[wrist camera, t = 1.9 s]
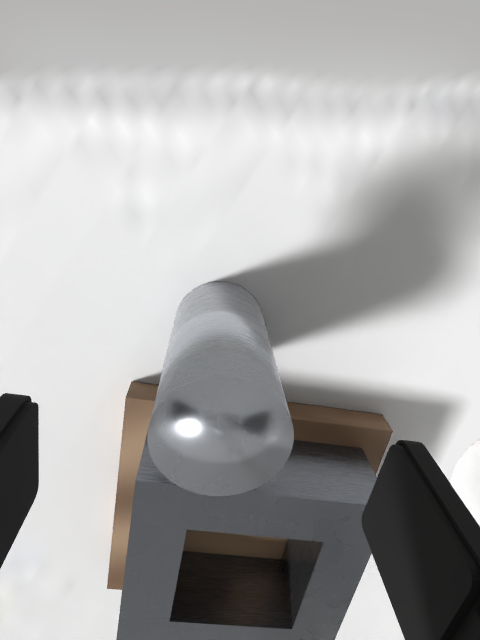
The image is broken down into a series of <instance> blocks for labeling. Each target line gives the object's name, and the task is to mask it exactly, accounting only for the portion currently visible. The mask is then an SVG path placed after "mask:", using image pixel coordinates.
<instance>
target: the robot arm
mask: <svg viewBox="0 0 480 640" xmlns="http://www.w3.org/2000/svg"><path fill="white" fill-rule="evenodd" d="M38 484H39V462H38V404H37V403H33V402H31V398H30V396H25V395H17V394H8V393H5V394H3V395H2V396H1V397H0V568H1V566H2V564H3V562H4V560H5V558H6V556H7V554H8V552H9V550H10V548H11V546H12V544H13V542H14V540H15V538H16V536H17V534H18V532H19V530H20V528H21V526H22V524H23V522H24V520H25V518H26V516H27V514H28V512H29V510H30V508H31V506H32V504H33V502H34V500H35V497H36V494H37V491H38ZM362 528H363V531H364V533H365V536H366V539H367V541H368V544H369V546H370V549H371V552H372V554H373V557H374V560H375V562H376V565H377V567H378V570H379V573H380V575H381V578H382V580H383V583H384V586H385V588H386V591H387V593H388V596H389V599H390V601H391V604H392V607H393V609H394V612H395V614H396V617H397V620H398V622H399V625H400V627H401V630H402V633H403V635H404V638H405V640H480V526H479V524H478V523H477V522H476V520H475V519H474V517H473V516H472V514H471V513H470V511H469V510H468V508H467V507H466V506H465V504H464V503H463V501H462V500H461V498H460V497H459V495H458V494H457V492H456V491H455V490H454V488H453V487H452V485H451V484H450V482H449V481H448V479H447V478H446V477H445V475H444V474H443V472H442V471H441V469H440V468H439V466H438V465H437V463H436V462H435V461H434V459H433V458H432V456H431V455H430V453H429V452H428V450H427V449H426V447H425V446H424V445H423V444H422V443H420V442H414V441H405V440H399V441H398V442H397V443H396V444H395V445H392V446H391V447H390V448H389V451H388V453H387V456H386V458H385V460H384V463H383V465H382V468H381V470H380V473H379V475H378V477H377V480H376V482H375V485H374V487H373V489H372V492H371V494H370V497H369V499H368V502H367V504H366V506H365V509H364V511H363V514H362Z"/></svg>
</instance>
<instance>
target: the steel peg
mask: <svg viewBox="0 0 480 640" xmlns="http://www.w3.org/2000/svg"><path fill="white" fill-rule="evenodd" d="M147 441H148V448H149V452H150V455H151V458H152V460H153V462H154V463H155V465H156V467H157V468H158V469H159V471H160V472H161V473H162V474H163V475H164V476H165V477H166V478H167V479H169V480H170V481H171V482H173V483H174V484H176V485H177V486H179V487H181V488H183V489H185V490H188V491H191V492H194V493H197V494H202V495H208V496H230V495H236V494H240V493H244V492H247V491H250V490H253V489H255V488H257V487H259V486H261V485H263V484H264V483H266V482H267V481H269V480H270V479H271V478H273V477H274V476H275V475H276V474H277V473H278V472H279V471H280V470H281V469H282V467H283V466H284V465H285V463H286V461H287V460H288V458H289V456H290V453H291V450H292V447H293V442H294V429H293V424H292V420H291V416H290V413H289V409H288V406H287V402H286V398H285V395H284V391H283V387H282V384H281V380H280V377H279V373H278V369H277V366H276V362H275V359H274V355H273V351H272V348H271V344H270V340H269V337H268V333H267V330H266V326H265V322H264V319H263V315H262V312H261V308H260V306H259V304H258V302H257V301H256V299H255V298H254V297H253V296H252V295H251V294H250V293H249V292H248V291H247V290H245V289H244V288H242V287H240V286H238V285H235V284H232V283H228V282H211V283H206V284H203V285H201V286H198V287H197V288H195V289H193V290H192V291H191V292H189V293H188V294H187V295H186V296H185V297H184V299H183V300H182V301H181V303H180V305H179V307H178V310H177V313H176V317H175V321H174V325H173V329H172V333H171V337H170V341H169V345H168V350H167V354H166V358H165V362H164V366H163V370H162V374H161V378H160V382H159V386H158V391H157V395H156V399H155V403H154V407H153V411H152V415H151V419H150V423H149V428H148V436H147Z"/></svg>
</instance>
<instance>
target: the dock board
mask: <svg viewBox="0 0 480 640" xmlns="http://www.w3.org/2000/svg"><path fill="white" fill-rule="evenodd" d="M158 386H159V385H154V384H146V383H139V382H131V385H130V387H129V390H128V393H127V396H126V401H125V411H124V421H123V432H122V442H121V452H120V462H119V472H118V483H117V493H116V503H115V513H114V523H113V534H112V544H111V554H110V564H109V574H108V585H107V589H120V590H122V589H123V581H124V573H125V564H126V556H127V547H128V539H129V531H130V522H131V514H132V505H133V497H134V488H135V480H136V476H137V472H138V468H139V464H140V460H141V456H142V452H143V448H144V444H145V440H146V435H147V431H148V427H149V423H150V419H151V415H152V411H153V407H154V403H155V399H156V395H157V391H158ZM287 406H288V409H289V413H290V416H291V420H292V424H293V429H294V440H301V441H309V442H317V443H325V444H334V445H342V446H350V447H359V448H363V450H364V452H365V455H366V457H367V459H368V461H369V463H370V465H371V467H372V469H373V471H374V473H375V475H376V472H377V470H378V467H379V464H380V462H381V459H382V457H383V454H384V452H385V449H386V447H387V444H388V442H389V439H390V437H391V434H392V432H393V431H392V430H391V428H390V426H389V425H388V423H387V422H386V420H385V418H384V417H383V415H382V414H374V413H367V412H359V411H352V410H344V409H336V408H329V407H321V406H314V405H306V404H298V403H291V402H287ZM286 542H287V539H285V538H274V537H263V536H252V535H241V534H230V533H219V532H208V531H197V530H187V531H186V537H185V542H184V547H183V551H190V552H202V553H214V554H226V555H237V556H249V557H261V558H273V559H281V558H282V555H283V551H284V548H285V545H286Z"/></svg>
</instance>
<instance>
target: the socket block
mask: <svg viewBox="0 0 480 640" xmlns="http://www.w3.org/2000/svg"><path fill="white" fill-rule="evenodd" d="M148 428H149V427H148ZM147 436H148V431H147V435H146V440H145V444H144V448H143V452H142V456H141V460H140V464H139V468H138V472H137V476H136V480H135V488H134V497H133V505H132V514H131V522H130V531H129V539H128V547H127V556H126V564H125V573H124V581H123V589H122V598H121V606H120V615H119V623H118V632H117V640H335V637H336V635H337V633H338V630H339V628H340V626H341V623H342V621H343V619H344V616H345V614H346V612H347V609H348V607H349V605H350V602H351V600H352V598H353V595H354V593H355V591H356V588H357V586H358V584H359V581H360V579H361V577H362V574H363V572H364V570H365V567H366V565H367V563H368V560H369V558H370V556H371V553H372V552H371V549H370V546H369V544H368V541H367V539H366V536H365V533H364V531H363V528H362V514H363V511H364V509H365V506H366V504H367V502H368V499H369V497H370V494H371V492H372V489H373V487H374V485H375V482H376V480H377V477H376V475H375V473H374V471H373V469H372V467H371V465H370V463H369V461H368V459H367V457H366V455H365V452H364V450H363V448H359V447H350V446H342V445H334V444H325V443H317V442H309V441H301V440H294V442H293V447H292V450H291V453H290V456H289V458H288V460H287V461H286V463H285V465H284V466H283V467H282V469H281V470H280V471H279V472H278V473H277V474H276V475H275V476H274V477H273V478H271V479H270V480H269V481H267V482H266V483H264V484H263V485H261V486H259V487H257V488H255V489H253V490H250V491H247V492H244V493H240V494H236V495H230V496H208V495H202V494H197V493H194V492H191V491H188V490H185V489H183V488H181V487H179V486H177V485H176V484H174V483H173V482H171V481H170V480H169V479H167V478H166V477H165V476H164V475H163V474H162V473H161V472H160V471H159V469H158V468H157V467H156V465H155V463H154V462H153V460H152V458H151V455H150V452H149V448H148V441H147ZM187 530H197V531H208V532H219V533H230V534H241V535H252V536H263V537H274V538H285V539H287V542H286V545H285V548H284V551H283V555H282V558H281V559H273V558H261V557H249V556H237V555H226V554H214V553H202V552H190V551H183V547H184V542H185V537H186V531H187Z"/></svg>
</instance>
